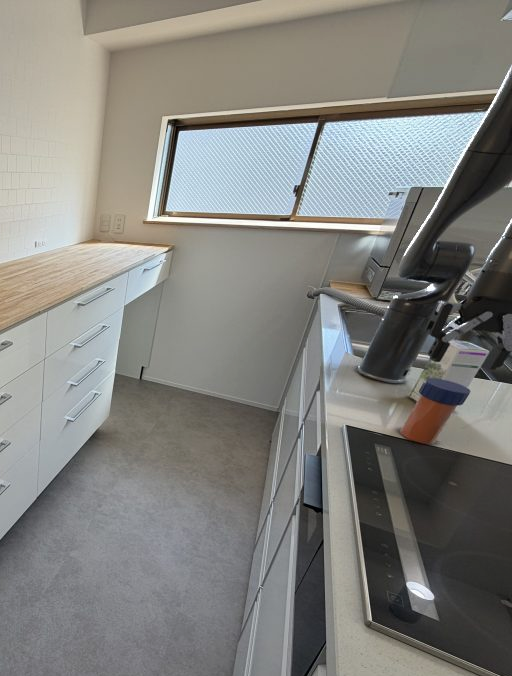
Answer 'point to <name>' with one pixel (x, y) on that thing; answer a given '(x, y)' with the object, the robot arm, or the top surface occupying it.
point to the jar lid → (444, 391)
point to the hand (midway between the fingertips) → (460, 364)
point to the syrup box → (453, 365)
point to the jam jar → (427, 420)
